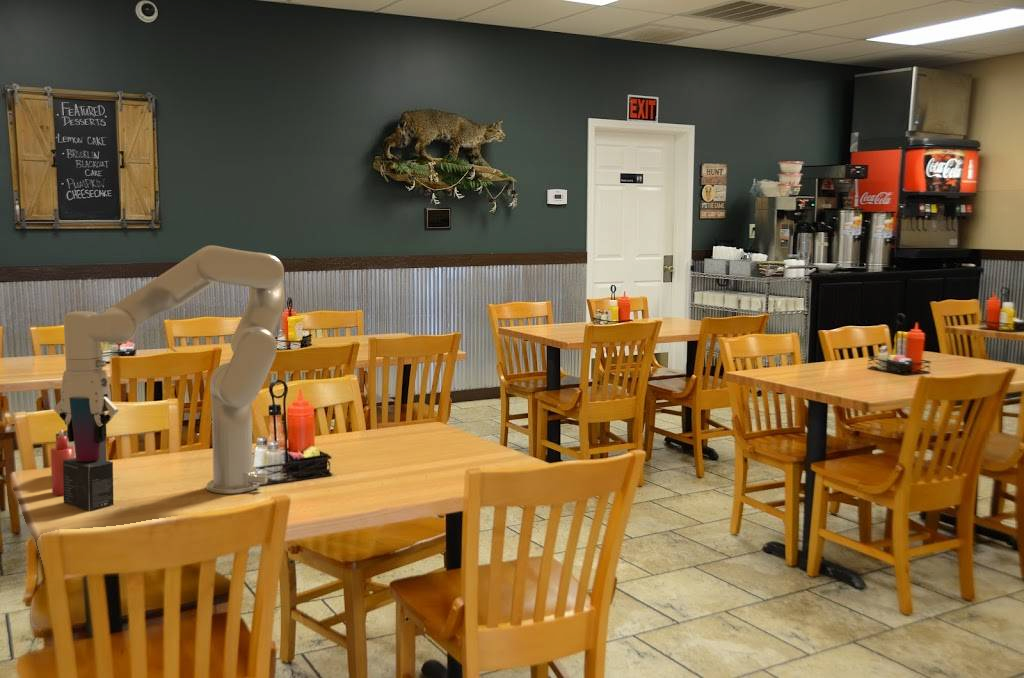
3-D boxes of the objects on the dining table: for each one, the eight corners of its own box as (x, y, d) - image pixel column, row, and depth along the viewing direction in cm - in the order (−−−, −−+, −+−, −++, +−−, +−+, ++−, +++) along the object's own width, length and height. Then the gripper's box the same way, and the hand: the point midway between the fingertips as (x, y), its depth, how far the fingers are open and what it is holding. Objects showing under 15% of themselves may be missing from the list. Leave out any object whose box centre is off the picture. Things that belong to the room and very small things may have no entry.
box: (115, 504, 208) (114, 461, 206) (89, 511, 202) (87, 467, 201) (88, 496, 213) (87, 454, 212) (62, 503, 208) (60, 460, 207)
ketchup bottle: (79, 490, 218) (77, 428, 216) (67, 496, 213) (64, 433, 211) (60, 489, 219) (58, 427, 217) (47, 495, 214) (45, 432, 212)
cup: (91, 463, 203) (88, 399, 201) (65, 461, 204) (62, 397, 202) (110, 456, 209) (107, 394, 207) (85, 454, 210) (82, 392, 209)
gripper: (128, 363, 206) (130, 439, 209) (59, 361, 208) (62, 436, 211) (109, 368, 199) (112, 446, 201) (38, 366, 201) (42, 443, 203)
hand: (87, 440), depth 206 cm, fingers closed on cup, 6 cm apart
